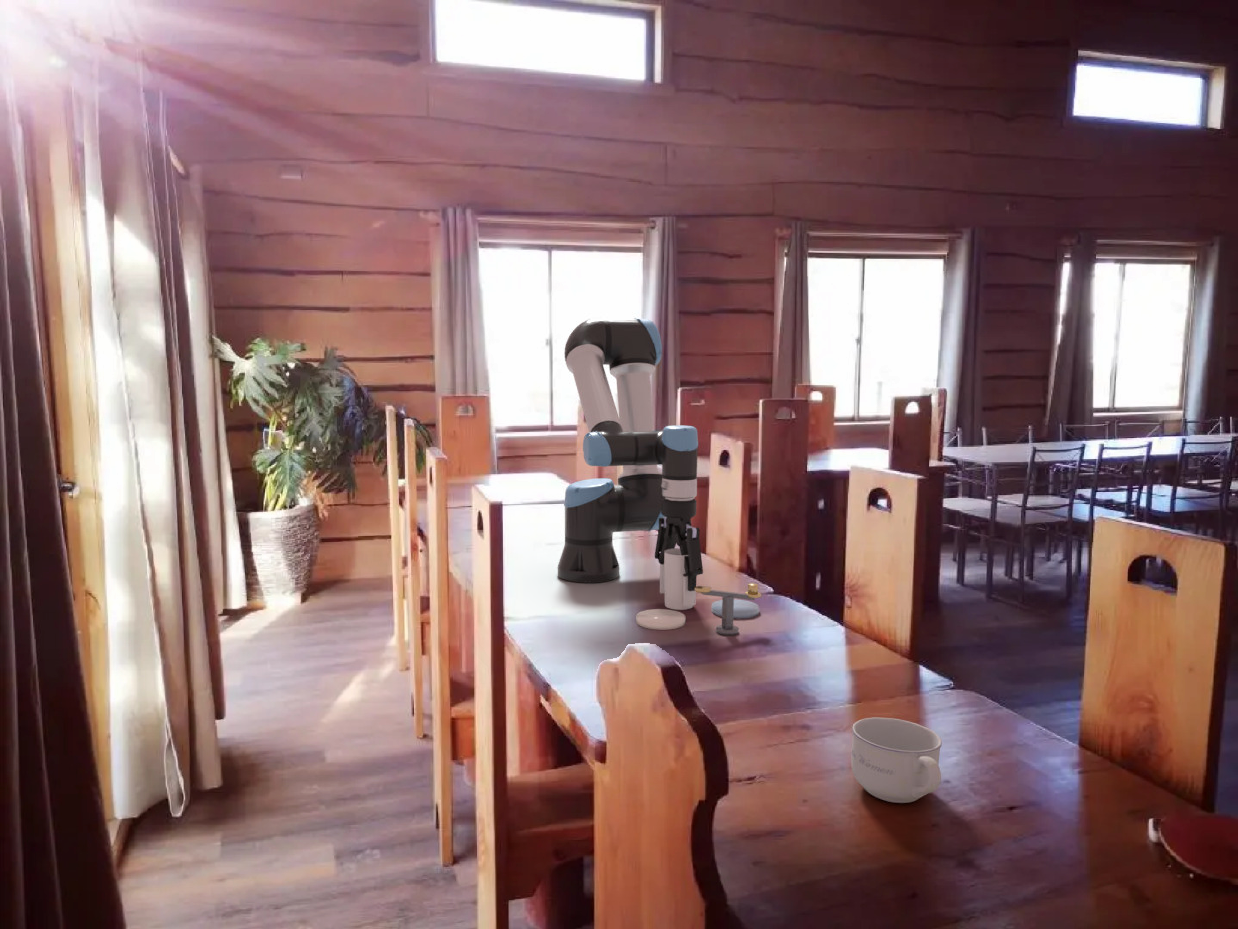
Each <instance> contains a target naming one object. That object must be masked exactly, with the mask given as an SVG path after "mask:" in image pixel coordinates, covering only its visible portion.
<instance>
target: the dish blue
mask: <svg viewBox="0 0 1238 929" xmlns="http://www.w3.org/2000/svg"><path fill="white" fill-rule="evenodd" d="M711 613H713V615H716V616H719V617H721V618H722V599H720V600H716V601H714V602H712V604H711ZM759 614H760V605H758V603H755V602H753V601H751V600H747V599H738V598H734V610H733V619H750V618H755V617H757V616H758V615H759Z"/></svg>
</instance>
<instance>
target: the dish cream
mask: <svg viewBox="0 0 1238 929" xmlns="http://www.w3.org/2000/svg"><path fill="white" fill-rule="evenodd" d="M635 623H636V624H637V625H638V626H640V627H642V628H645V629H649V630H655V631H656V630H657V631H658V630H659V631H662V630H663V631H665V630H674V629H676V630H677V629H680V628H682V627H683V626H685V625H686V615H685V614H684V613H682V612H680V611H678V610H675V609H668V608H667V609H665V608H655V609H654V608H653V609H652V608H651V609H646V610H641V611H639V612H638V613H637V614H636V616H635Z"/></svg>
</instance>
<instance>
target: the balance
mask: <svg viewBox="0 0 1238 929" xmlns="http://www.w3.org/2000/svg"><path fill="white" fill-rule="evenodd" d="M695 591H696V593H700V594H702V595H703V596H711V597H721V600H722V617H721V624H720V625H716V628H715V632H716V634H719V635H721V636H731V637H732V636H736V635H738V634H739V626H736V625H735V624H734V618H733V610H734V599H738V600H746V601H755V599H759V598H761V597H762V593H761V592H759V584H758V583H753V582H751V583H748V584H747V591H744V593H742V592H735V591H726V590H725V591H724V590H715V589H712V587H710V586H706V585H698V586H697V585H696V587H695Z"/></svg>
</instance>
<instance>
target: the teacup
mask: <svg viewBox="0 0 1238 929" xmlns="http://www.w3.org/2000/svg"><path fill="white" fill-rule="evenodd" d="M851 732H852V737H851V738H852V740H851V751H850V754H851V755H850V757H851V758H850V765H851V772H852V774H853V776H854V778H855V780H856V781H857V782H858V783H859V784H860V785H861V786H862V787H863V789H864V790H865V791H866V792H867V793H868V794H870V795H872V796H873V797H874V798H876V799H880V800H883V801H886V802H890V803H897V804H898V803H899V804H907V803H913V802H915V801H917V800H919V799H920V798H922V797H924V796H926V795H927V794H931V793H934V792H935V791H937V790H938V789H939V787H940V785H941V782H942V772H941V769H940V766H939V764H940V763H939V762H940V761H939V760H940V754H941V753H940V752H941V747H942V745H943V742H942V739H941V737H940V736H939V735H938V734H937V733H936V732H935V731H933V730H931V729H930V728H928V727H926V726H924V725H921V724H919V723H916V722H912V721H909V720H904V719H899V718H891V717H878V716H877V717H876V716H875V717H874V716H873V717H866V718H862V719H860V720H859V719H858V720H857V721H855V722H854V723H853V725H852V728H851Z"/></svg>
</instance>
